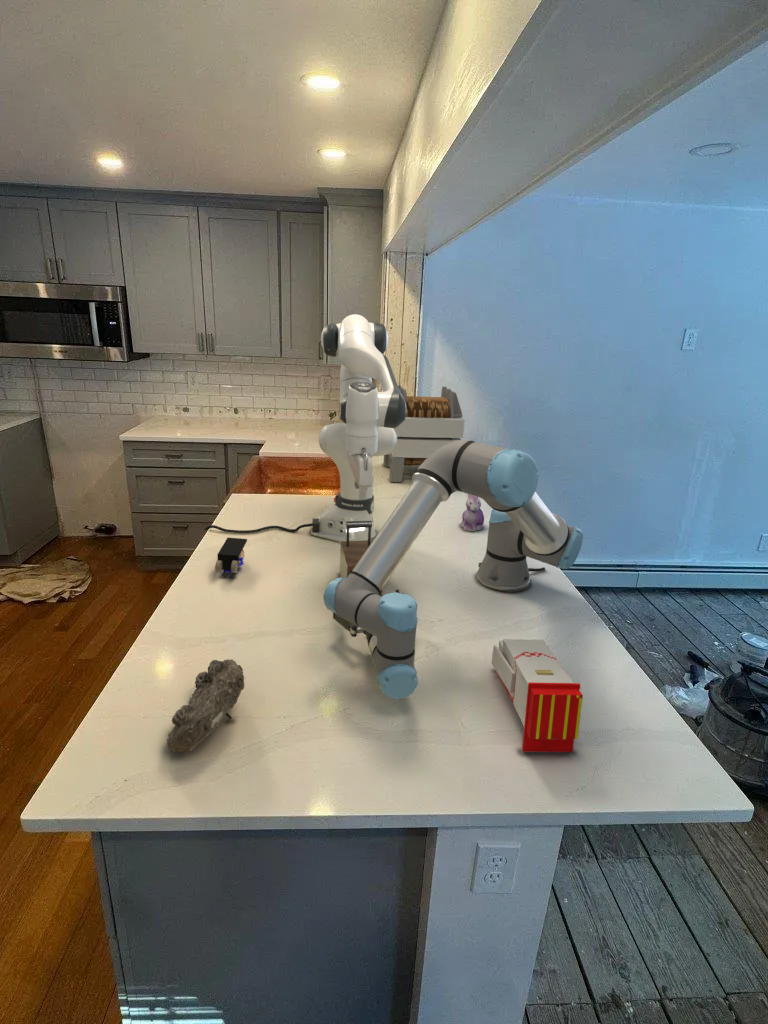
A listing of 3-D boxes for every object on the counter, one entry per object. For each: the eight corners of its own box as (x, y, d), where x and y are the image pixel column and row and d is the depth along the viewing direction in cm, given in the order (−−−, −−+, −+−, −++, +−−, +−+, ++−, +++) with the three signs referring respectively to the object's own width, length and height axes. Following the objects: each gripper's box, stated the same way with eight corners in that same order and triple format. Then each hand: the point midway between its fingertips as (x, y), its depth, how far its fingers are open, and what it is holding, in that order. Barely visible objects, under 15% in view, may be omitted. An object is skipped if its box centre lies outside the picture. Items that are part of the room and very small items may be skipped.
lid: (340, 544, 165) (340, 517, 162) (373, 543, 167) (374, 516, 164) (347, 570, 149) (347, 540, 147) (383, 568, 151) (384, 539, 148)
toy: (540, 622, 128) (592, 691, 98) (535, 677, 130) (584, 759, 101) (487, 621, 127) (523, 690, 98) (483, 676, 130) (516, 758, 101)
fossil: (192, 660, 117) (244, 628, 112) (224, 691, 120) (276, 661, 115) (142, 746, 98) (202, 712, 93) (182, 779, 101) (242, 748, 96)
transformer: (382, 463, 289) (386, 382, 275) (445, 464, 293) (451, 384, 279) (390, 482, 257) (394, 392, 243) (460, 483, 261) (468, 394, 247)
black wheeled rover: (238, 584, 162) (249, 557, 175) (236, 562, 158) (247, 536, 172) (215, 584, 161) (227, 556, 175) (212, 561, 158) (225, 535, 171)
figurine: (470, 533, 202) (474, 493, 197) (453, 524, 211) (457, 485, 206) (491, 530, 207) (495, 491, 202) (474, 520, 215) (478, 483, 210)
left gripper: (379, 454, 143) (377, 505, 148) (367, 436, 162) (365, 482, 167) (354, 454, 142) (353, 505, 147) (345, 436, 161) (344, 482, 166)
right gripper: (327, 661, 121) (320, 611, 141) (440, 653, 126) (417, 606, 146) (328, 630, 119) (320, 584, 138) (442, 623, 123) (419, 579, 143)
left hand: (359, 493), depth 157 cm, fingers open, 8 cm apart
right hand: (370, 595), depth 142 cm, fingers open, 13 cm apart
